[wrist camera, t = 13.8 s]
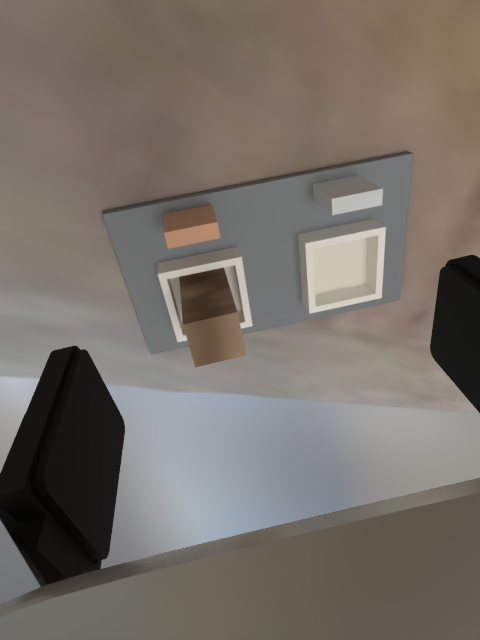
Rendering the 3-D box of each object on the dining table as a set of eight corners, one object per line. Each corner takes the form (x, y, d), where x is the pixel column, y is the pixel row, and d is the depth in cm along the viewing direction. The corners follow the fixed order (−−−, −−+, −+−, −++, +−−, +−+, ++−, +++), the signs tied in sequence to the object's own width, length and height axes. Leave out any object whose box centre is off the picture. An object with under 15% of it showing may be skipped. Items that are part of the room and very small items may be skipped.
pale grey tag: (358, 175, 37) (382, 188, 33) (357, 190, 38) (382, 205, 33) (312, 184, 37) (331, 198, 32) (313, 199, 37) (332, 215, 33)
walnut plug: (223, 266, 39) (237, 312, 32) (231, 304, 42) (246, 355, 34) (179, 275, 39) (182, 324, 32) (189, 313, 42) (195, 367, 34)
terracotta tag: (211, 204, 36) (217, 221, 32) (214, 219, 37) (220, 238, 33) (163, 213, 36) (163, 232, 32) (167, 228, 37) (168, 248, 32)
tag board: (407, 151, 37) (428, 158, 34) (395, 295, 46) (411, 311, 43) (103, 211, 36) (97, 223, 33) (151, 349, 45) (150, 368, 42)
